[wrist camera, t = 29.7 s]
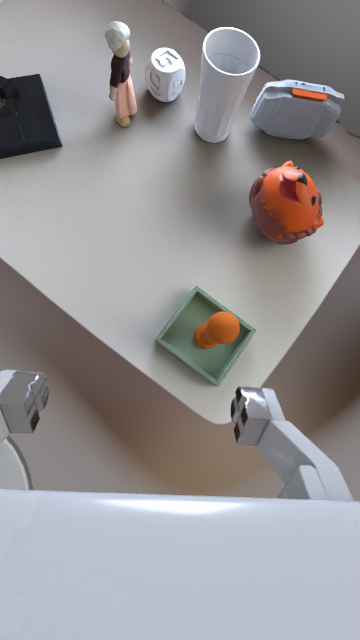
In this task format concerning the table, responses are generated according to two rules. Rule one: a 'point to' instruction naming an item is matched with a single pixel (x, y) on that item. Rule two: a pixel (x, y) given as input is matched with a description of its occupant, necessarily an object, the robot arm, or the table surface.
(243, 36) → the cup
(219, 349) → the basin
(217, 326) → the plug
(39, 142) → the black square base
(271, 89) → the gray clasp case
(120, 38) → the grandmother figurine
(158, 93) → the die
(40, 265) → the table surface
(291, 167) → the orange fox figurine
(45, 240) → the table surface
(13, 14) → the table surface
